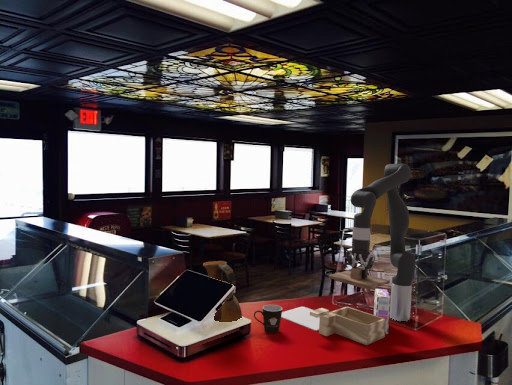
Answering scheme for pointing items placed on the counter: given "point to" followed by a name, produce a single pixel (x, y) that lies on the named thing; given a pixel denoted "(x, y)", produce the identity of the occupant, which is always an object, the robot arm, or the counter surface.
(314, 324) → the mat
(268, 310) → the coffee mug
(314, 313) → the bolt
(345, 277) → the lid
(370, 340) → the wooden box
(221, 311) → the ceramic pitcher
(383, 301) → the candy box
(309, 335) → the counter surface
